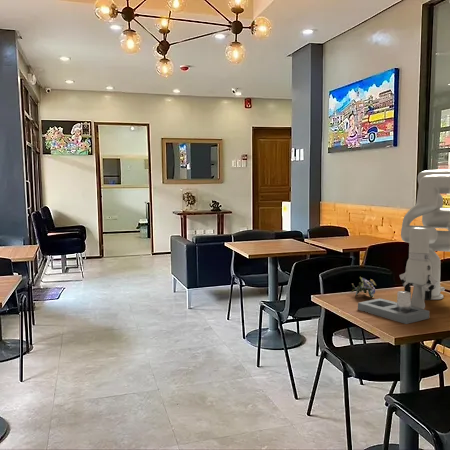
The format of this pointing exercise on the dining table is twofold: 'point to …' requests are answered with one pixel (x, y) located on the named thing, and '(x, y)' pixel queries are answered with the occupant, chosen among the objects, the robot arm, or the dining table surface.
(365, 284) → the toy creature figurine
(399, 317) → the hole plate
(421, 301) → the salt shaker
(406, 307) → the steel pin
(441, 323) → the dining table surface
